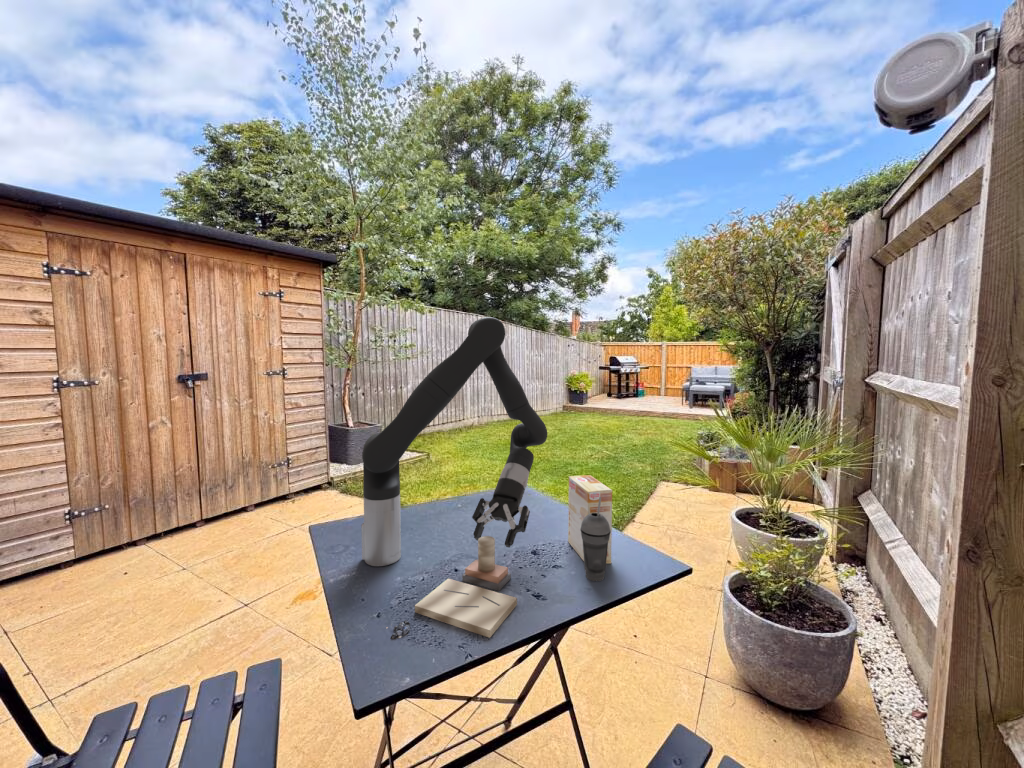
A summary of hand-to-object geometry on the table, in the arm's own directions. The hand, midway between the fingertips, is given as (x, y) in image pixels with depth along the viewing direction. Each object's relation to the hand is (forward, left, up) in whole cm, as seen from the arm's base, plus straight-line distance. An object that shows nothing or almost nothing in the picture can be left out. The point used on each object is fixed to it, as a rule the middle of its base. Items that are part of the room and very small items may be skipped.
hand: (491, 542), depth 102 cm
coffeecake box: (+18, +23, -8) cm, 30 cm away
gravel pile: (-6, -26, -9) cm, 28 cm away
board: (+2, -14, -8) cm, 17 cm away
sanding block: (0, -2, -8) cm, 9 cm away
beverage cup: (+23, +11, -8) cm, 27 cm away
